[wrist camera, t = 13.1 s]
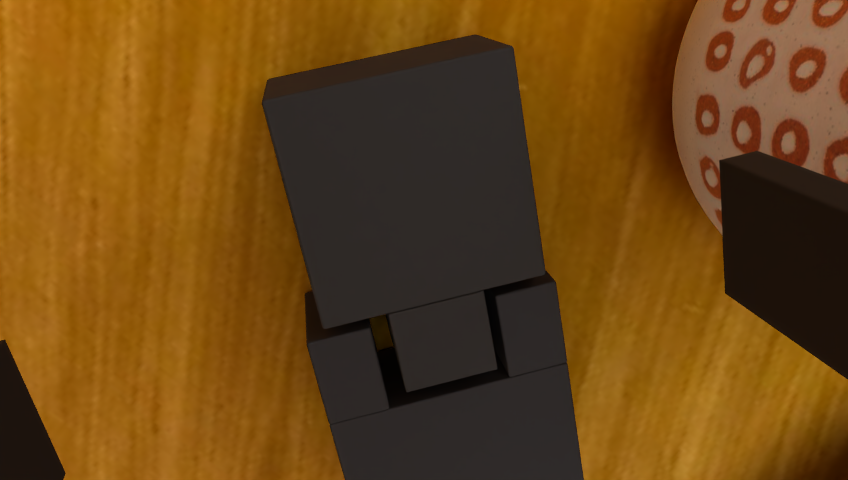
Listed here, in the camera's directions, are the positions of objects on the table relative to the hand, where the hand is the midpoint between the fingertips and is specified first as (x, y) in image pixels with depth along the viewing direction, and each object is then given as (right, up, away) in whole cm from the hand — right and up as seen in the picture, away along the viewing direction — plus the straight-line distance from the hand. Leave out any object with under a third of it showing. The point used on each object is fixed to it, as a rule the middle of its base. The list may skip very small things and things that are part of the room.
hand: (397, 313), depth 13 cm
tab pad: (0, +3, +13) cm, 13 cm away
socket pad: (+1, -3, +15) cm, 15 cm away
